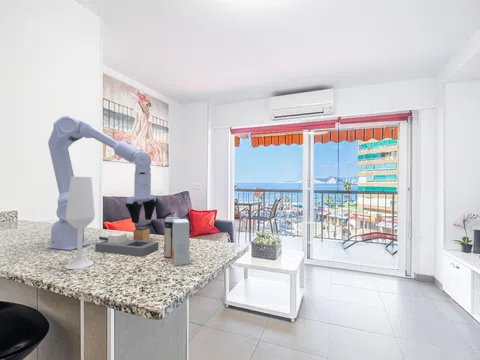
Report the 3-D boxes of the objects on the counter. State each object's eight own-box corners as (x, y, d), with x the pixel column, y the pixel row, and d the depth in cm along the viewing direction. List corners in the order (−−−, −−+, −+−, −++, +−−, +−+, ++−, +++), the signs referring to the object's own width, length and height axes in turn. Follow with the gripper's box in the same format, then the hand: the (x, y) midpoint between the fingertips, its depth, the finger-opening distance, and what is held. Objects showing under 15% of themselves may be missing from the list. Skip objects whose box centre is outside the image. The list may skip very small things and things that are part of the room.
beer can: (175, 259, 73) (176, 218, 73) (160, 257, 74) (161, 218, 74) (182, 254, 77) (183, 216, 77) (168, 253, 78) (169, 216, 78)
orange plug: (133, 243, 89) (133, 228, 89) (140, 241, 93) (140, 226, 93) (142, 244, 88) (143, 229, 88) (149, 242, 92) (149, 227, 92)
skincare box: (171, 259, 72) (172, 219, 72) (186, 257, 74) (186, 218, 74) (173, 266, 67) (174, 222, 67) (189, 264, 68) (190, 221, 68)
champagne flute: (89, 259, 71) (91, 177, 71) (96, 264, 67) (98, 177, 67) (61, 264, 66) (63, 176, 67) (67, 270, 62) (69, 176, 62)
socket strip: (90, 250, 79) (90, 235, 79) (109, 244, 87) (109, 230, 87) (143, 256, 74) (143, 240, 74) (158, 249, 82) (158, 234, 82)
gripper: (139, 185, 83) (138, 225, 83) (162, 184, 97) (162, 218, 97) (121, 185, 85) (121, 224, 85) (147, 184, 99) (146, 218, 99)
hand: (142, 221), depth 91 cm, fingers open, 7 cm apart
